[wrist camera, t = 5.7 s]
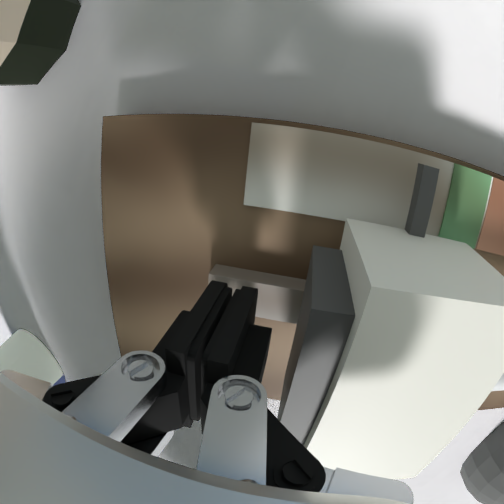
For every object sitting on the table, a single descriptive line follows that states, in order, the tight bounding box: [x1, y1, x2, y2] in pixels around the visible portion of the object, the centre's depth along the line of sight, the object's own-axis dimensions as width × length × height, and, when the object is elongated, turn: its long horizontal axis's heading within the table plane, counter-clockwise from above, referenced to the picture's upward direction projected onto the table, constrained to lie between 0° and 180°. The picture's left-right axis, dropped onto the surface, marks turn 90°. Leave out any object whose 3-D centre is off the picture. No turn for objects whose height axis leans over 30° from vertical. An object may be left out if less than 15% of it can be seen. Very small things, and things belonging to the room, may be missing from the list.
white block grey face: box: [277, 163, 504, 479], centre depth 8 cm, size 10×12×5 cm
